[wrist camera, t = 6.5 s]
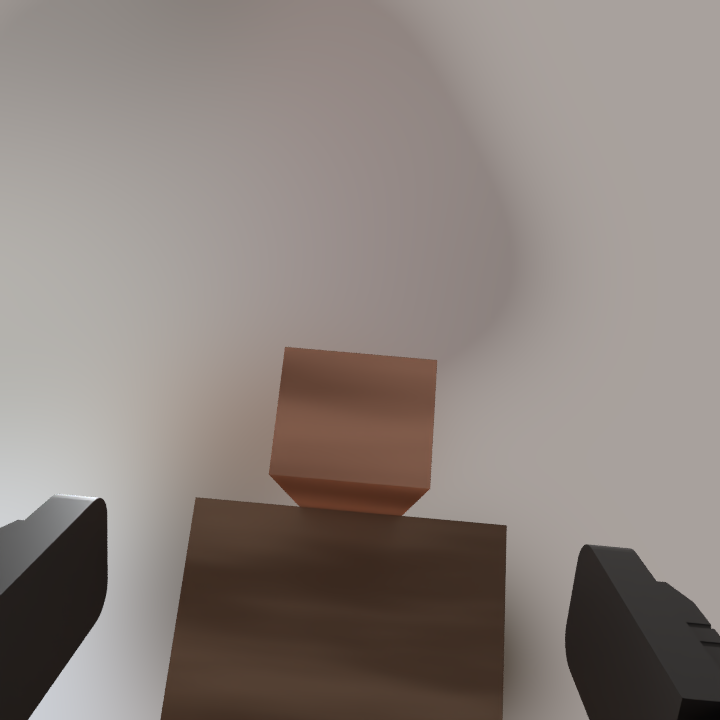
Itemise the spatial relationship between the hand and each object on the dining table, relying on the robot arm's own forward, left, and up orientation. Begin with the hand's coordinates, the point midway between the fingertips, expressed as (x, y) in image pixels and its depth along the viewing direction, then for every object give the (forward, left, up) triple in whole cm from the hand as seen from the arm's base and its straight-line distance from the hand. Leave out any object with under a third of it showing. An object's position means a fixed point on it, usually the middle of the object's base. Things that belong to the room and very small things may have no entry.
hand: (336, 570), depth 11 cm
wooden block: (+11, +11, +2) cm, 15 cm away
